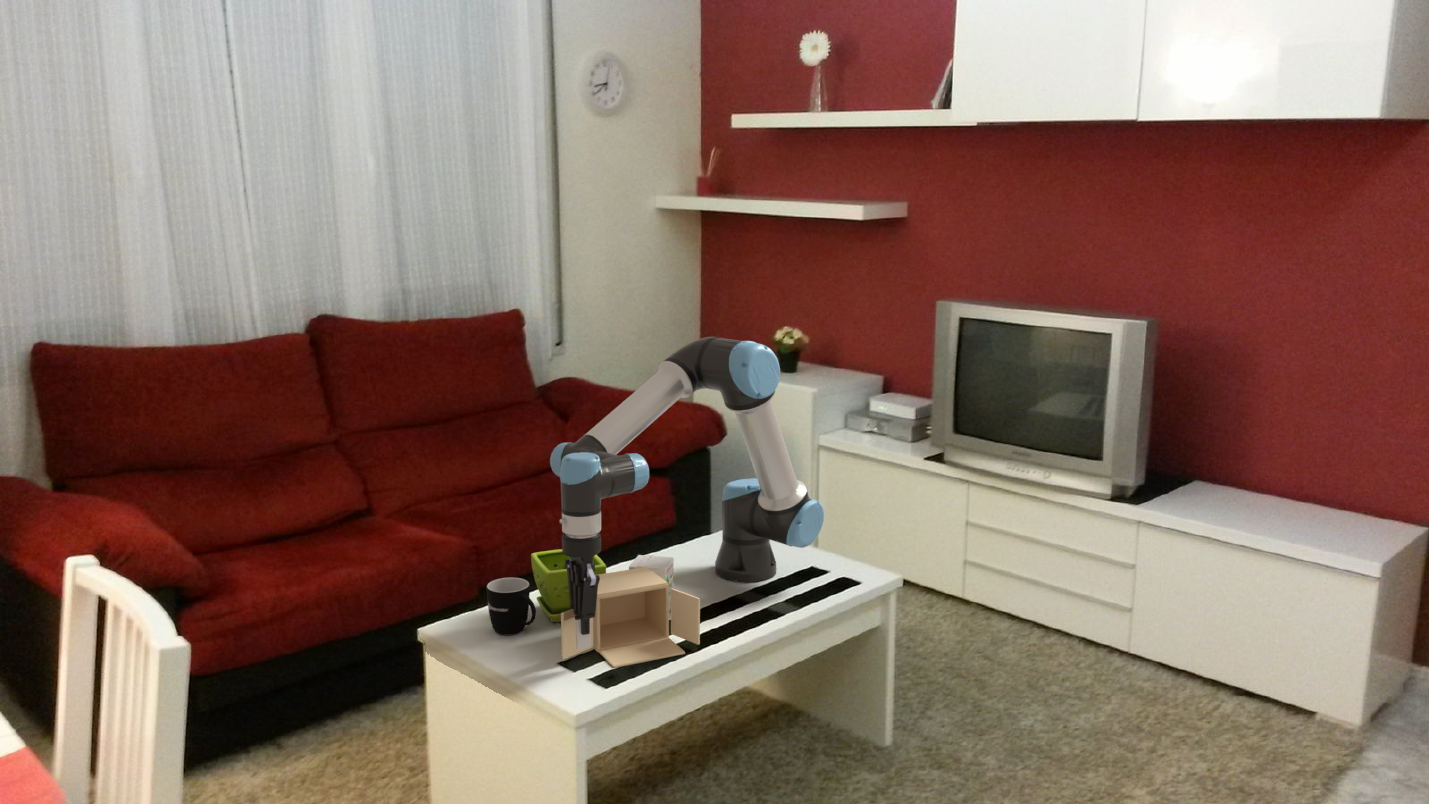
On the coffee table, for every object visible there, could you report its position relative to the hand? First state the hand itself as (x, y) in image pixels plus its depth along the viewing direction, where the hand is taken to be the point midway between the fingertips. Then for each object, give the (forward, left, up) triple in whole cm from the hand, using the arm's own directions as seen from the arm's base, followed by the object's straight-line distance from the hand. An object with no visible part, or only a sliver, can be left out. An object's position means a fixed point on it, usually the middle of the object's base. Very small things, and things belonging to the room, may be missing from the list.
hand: (583, 647), depth 223 cm
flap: (0, -4, -3) cm, 5 cm away
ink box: (-24, -21, -4) cm, 32 cm away
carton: (-15, -7, -4) cm, 17 cm away
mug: (+7, -23, -4) cm, 25 cm away
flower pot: (-7, -28, -4) cm, 30 cm away
